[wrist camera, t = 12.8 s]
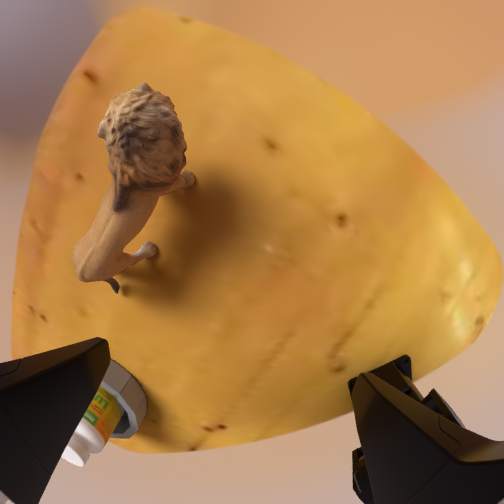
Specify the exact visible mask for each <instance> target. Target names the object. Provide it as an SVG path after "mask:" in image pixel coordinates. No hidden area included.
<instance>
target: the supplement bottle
mask: <svg viewBox="0 0 504 504" xmlns="http://www.w3.org/2000/svg"><path fill="white" fill-rule="evenodd" d="M124 412H125V409H124V408H123V407H122V405H121V404H120V403H119V401H118V400H117V399H116V397H115V396H114V395H112V394H111V393H110V392H108V391H107V390H106V389H104V388H103V387H102V386H101V385H100V387H99V389H98V391H97V393H96V395H95V397H94V399H93V400H92V402H91V404H90V405H89V407H88V409H87V411H86V412H85V414H84V416H83V418H82V419H81V421H80V423H79V425H78V426H77V428H76V430H75V432H74V434H73V435H72V437H71V439H70V441H69V443H68V445H67V446H66V448H65V450H64V452H63V454H62V456H61V457H63V458H64V459H66V460H67V461H69V462H70V463H72V464H74V465H77V466H84V465H85V463H86V462H87V460H88V459H89V456H90V453H98V452H100V451H101V450H102V449H103V448H104V446H105V444H106V443H107V441H108V439H109V438H110V436H111V434H112V432H113V431H114V429H115V427H116V425H117V424H118V422H119V420H120V419H121V417H122V415H123V414H124Z"/></svg>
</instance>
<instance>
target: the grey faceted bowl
mask: <svg viewBox="0 0 504 504" xmlns="http://www.w3.org/2000/svg"><path fill="white" fill-rule="evenodd" d="M101 386H102V387H103V388H104V389H106V390H107V391H108V392H110V393H111V394H112V395H114V396H115V397H116V399H117V400H118V401H119V403H120V404H121V405H122V407H123V408H124V409H125V412H124V414H123V415H122V417H121V419H120V420H119V422H118V424H117V425H116V427H115V429H114V431H113V432H112V434H111V436H110V437H111V438H130V437H131V436H132V435H133V434H134V433H136V432H137V431H138V429H139V427H140V425H141V423H142V421H143V419H144V417H145V415H146V413H147V400H146V396H145V393H144V391H143V389H142V388H141V386H140V384H139V383H138V382H137V380H136V379H135V378H134V377H133V376H132V375H131V374H130V373H129V372H128V371H127V370H126V369H125V368H124V367H122V366H121V365H120V364H118V363H117V362H115V361H114V360H112V359H111V361H110V365H109V367H108V369H107V371H106V373H105V376H104V378H103V380H102V382H101Z"/></svg>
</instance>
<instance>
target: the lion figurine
mask: <svg viewBox="0 0 504 504" xmlns="http://www.w3.org/2000/svg"><path fill="white" fill-rule="evenodd" d="M97 135H98V136H99V137H101V138H103V139H105V145H106V147H107V149H108V152H109V160H110V161H109V163H108V169H109V171H110V173H111V174H112V184H111V186H110V188H109V190H108V191H107V193H106V195H105V197H104V199H103V201H102V203H101V205H100V208H99V211H98V214H97V216H96V219H95V221H94V223H93V225H92V227H91V228H90V230H89V231H88V232H87V233H86V234H85V235H84V236H83V237H82V238H81V239H80V240H79V241H78V242H77V244H76V245H75V248H74V251H73V264H74V266H75V268H76V274H77V277H78V278H79V280H80V281H82V282H93V281H106V282H108V283H109V284H110V285H111V287H112V289H113V290H114V291H115V293H117V294H118V291H119V288H120V287H119V284H118V282H117V281H116V280H115V279H114V278H112V277H113V276H115V275H117V274H118V273H120V272H121V271H122V270H124V269H125V268H126V267H128V266H129V265H134V264H136V263H137V262H139V261H141V260H143V259H146V258H149V257H152V256H153V255H154V254H155V253H156V246H155V245H154V244H152V243H151V242H146V243H145V244H143V246H142V247H141V248H140V249H139V250H138V251H137V252H136V253H134V254H131V255H130V254H128V253H124V252H123V249H124V247H125V246H126V245H127V244H128V243H129V242H130V241H131V240H132V239H133V238H134V237H135V236H136V235H137V234H138V233H139V232H140V231H141V230H142V228H143V227H144V226H145V224H146V222H147V221H148V219H149V218H150V216H151V214H152V212H153V210H154V208H155V206H156V204H157V201H158V198H159V196H162V195H165V194H168V193H169V192H171V191H174V190H177V189H183V188H187V187H189V186H191V185H193V183H194V181H195V179H194V175H193V173H192V172H190V171H187V170H184V171H183V172H182V173H181V170H182V169H183V167H184V166H185V165H186V157H185V155H184V152H185V151H186V149H187V144H186V142H185V139H184V133H183V132H182V124H181V122H180V121H179V119H178V118H177V114H176V112H175V111H174V105H173V103H172V102H171V100H170V98H169V97H168V96H164V95H162V94H161V93H160V92H159V91H155V90H153V89H152V88H151V87H150V86H148V85H147V83H140V84H139V85H138V86H137V87H136V88H135V89H130V90H128V91H127V92H126V93H118V94H116V95H115V96H114V97H113V98H112V99H111V102H110V104H109V105H108V111H107V112H106V114H105V118H104V119H103V120H102V121H101V122H100V125H99V129H98V132H97ZM180 173H181V174H180Z"/></svg>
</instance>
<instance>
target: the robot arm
mask: <svg viewBox="0 0 504 504" xmlns="http://www.w3.org/2000/svg"><path fill="white" fill-rule="evenodd" d="M110 361H111V357H110V351H109V344H108V341H107V340H106V339H103V338H99V337H96V338H92V339H89V340H85V341H82V342H79V343H75V344H72V345H68V346H65V347H61V348H58V349H54V350H50V351H47V352H43V353H39V354H36V355H32V356H28V357H24V358H22V359H21V358H20V359H16V360H12V361H8V362H3V363H0V504H5V503H6V501H7V500H8V499H9V500H10V501H11V502H12V503H14V504H38V503H39V501H40V499H41V497H42V495H43V493H44V490H45V488H46V486H47V484H48V482H49V480H50V478H51V475H52V473H53V471H54V469H55V467H56V465H57V463H58V462H59V460H60V458H61V456H62V454H63V452H64V450H65V448H66V446H67V445H68V443H69V441H70V439H71V437H72V435H73V434H74V432H75V430H76V428H77V426H78V425H79V423H80V421H81V419H82V418H83V416H84V414H85V412H86V411H87V409H88V407H89V405H90V404H91V402H92V400H93V399H94V397H95V395H96V393H97V391H98V389H99V387H100V385H101V382H102V380H103V378H104V376H105V373H106V371H107V369H108V367H109V365H110ZM353 383H354V384H353ZM348 388H349V392H350V396H351V400H352V404H353V408H354V413H355V420H356V426H357V431H358V435H359V439H360V443H361V447H360V448H357V449H355V450H354V451H352V459H353V490H354V491H355V492H356V494H357V496H358V497H359V499H360V500H361V501H362V502H363V503H364V504H504V441H494V440H491V439H488V438H486V437H483V436H481V435H479V434H476V433H474V432H472V431H470V430H467V429H466V428H465V426H464V425H463V423H462V422H461V420H460V419H459V417H458V416H457V415H456V414H455V412H454V411H453V410H452V408H451V407H450V406H449V405H448V404H447V402H446V401H445V400H444V399H443V398H442V397H441V396H440V395H439V394H438V393H437V391H436V390H435V389H432V390H431V391H430V392H429V394H428V395H427V396H426V397H425V398H423V396H422V395H421V394H420V392H419V391H418V389H417V388H416V387H415V385H414V384H413V382H412V374H411V359H410V357H409V356H408V355H404V356H402V357H400V358H398V359H396V360H394V361H392V362H389V363H387V364H385V365H383V366H381V367H379V368H376V369H374V370H372V371H370V372H367V373H360V374H359V376H358V377H355V378H353V379H351V380H349V381H348Z"/></svg>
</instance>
